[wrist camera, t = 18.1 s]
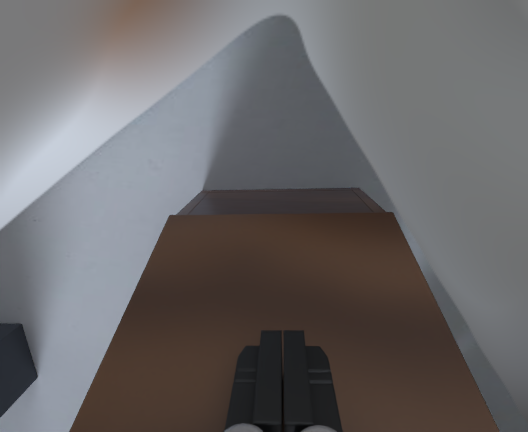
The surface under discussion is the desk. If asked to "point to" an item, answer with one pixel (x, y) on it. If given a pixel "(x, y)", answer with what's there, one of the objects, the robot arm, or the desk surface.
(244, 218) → the lid
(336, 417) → the robot arm
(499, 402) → the desk surface
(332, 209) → the chest
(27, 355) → the block
